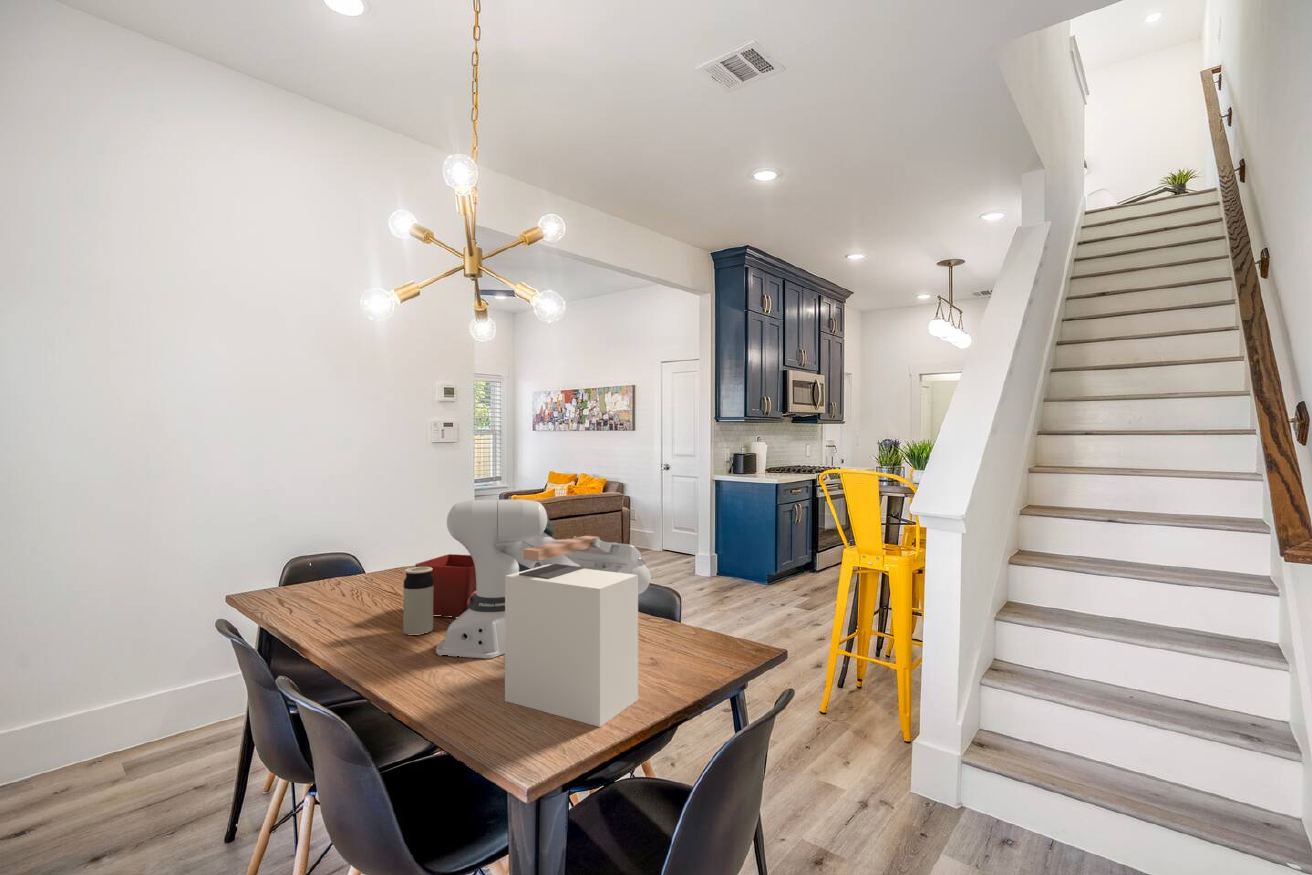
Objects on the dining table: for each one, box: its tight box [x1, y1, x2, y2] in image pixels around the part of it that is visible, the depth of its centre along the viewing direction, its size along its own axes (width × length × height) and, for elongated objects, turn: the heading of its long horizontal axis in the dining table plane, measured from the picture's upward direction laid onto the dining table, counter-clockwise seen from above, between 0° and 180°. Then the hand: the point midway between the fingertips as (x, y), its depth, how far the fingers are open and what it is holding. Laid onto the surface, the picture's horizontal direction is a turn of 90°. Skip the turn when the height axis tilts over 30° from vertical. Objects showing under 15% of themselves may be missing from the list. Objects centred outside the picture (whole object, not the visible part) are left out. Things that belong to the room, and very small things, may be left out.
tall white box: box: [504, 564, 639, 728], centre depth 125 cm, size 14×24×26 cm, turn 61°
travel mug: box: [402, 566, 434, 634], centre depth 171 cm, size 8×8×18 cm
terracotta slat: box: [524, 535, 601, 562], centre depth 132 cm, size 22×4×2 cm, turn 151°
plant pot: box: [415, 553, 476, 617], centre depth 191 cm, size 19×19×17 cm
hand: (584, 540), depth 139 cm, fingers closed on terracotta slat, 4 cm apart
